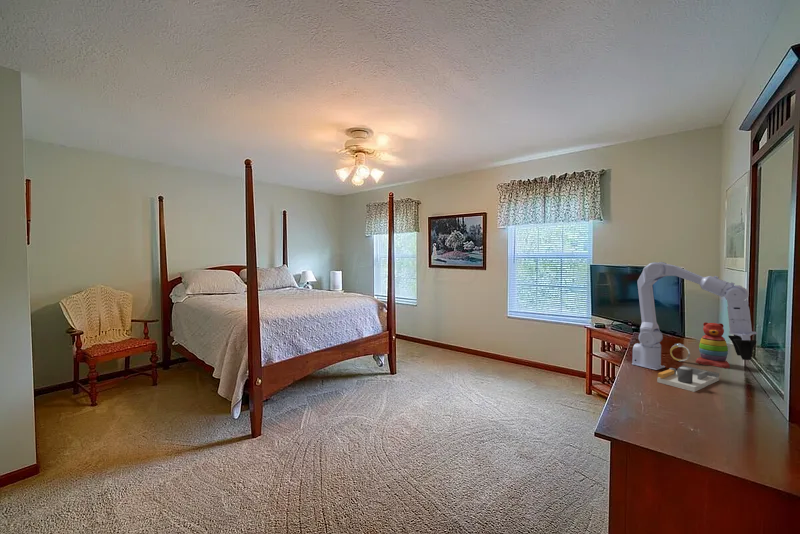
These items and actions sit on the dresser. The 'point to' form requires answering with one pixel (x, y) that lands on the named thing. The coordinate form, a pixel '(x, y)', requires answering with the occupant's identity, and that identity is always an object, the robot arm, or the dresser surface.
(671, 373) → the orange-brown long box
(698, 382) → the white tray
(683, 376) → the plug
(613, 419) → the dresser surface
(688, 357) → the ring
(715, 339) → the stacking bear
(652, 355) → the robot arm
